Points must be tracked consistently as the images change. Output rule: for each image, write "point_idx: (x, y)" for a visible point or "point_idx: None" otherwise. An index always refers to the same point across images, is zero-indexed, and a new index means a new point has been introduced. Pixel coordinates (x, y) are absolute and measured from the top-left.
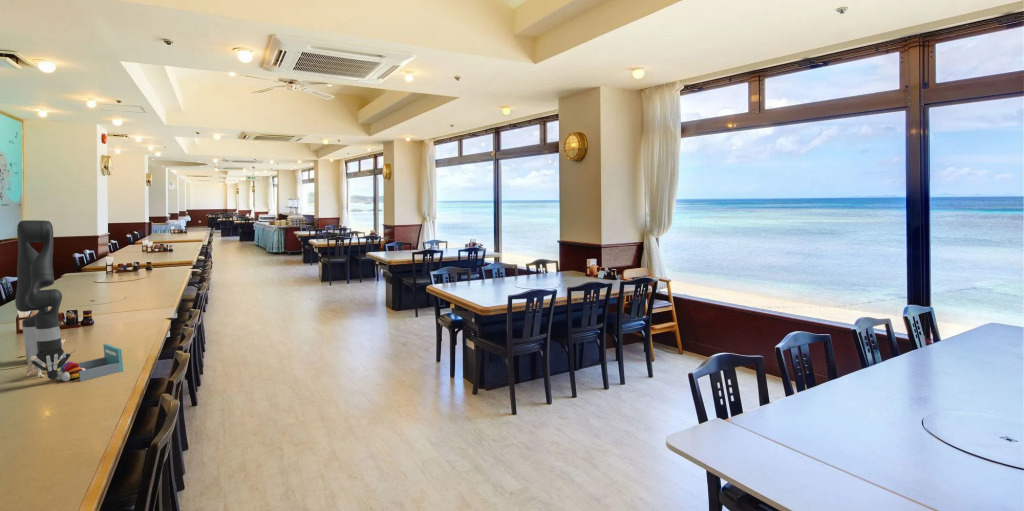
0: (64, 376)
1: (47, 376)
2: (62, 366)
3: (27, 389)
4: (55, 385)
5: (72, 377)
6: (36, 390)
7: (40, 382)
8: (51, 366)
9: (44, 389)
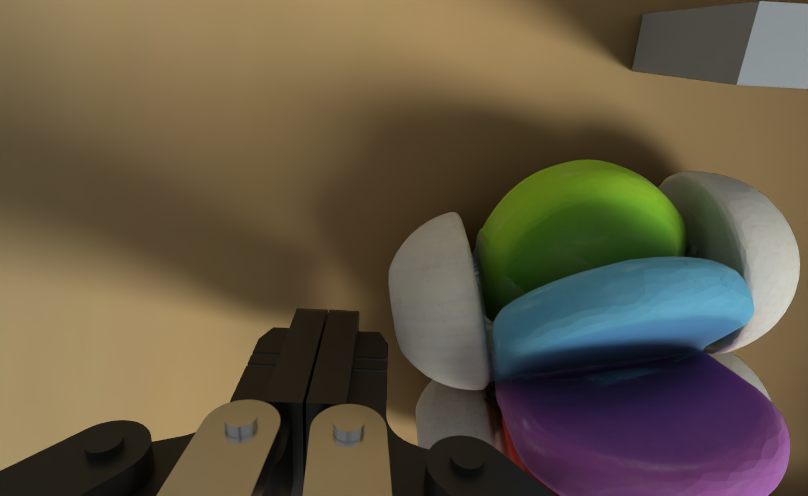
0: None
1: (255, 347)
2: (559, 343)
3: (35, 327)
4: None
5: None
6: None
7: (223, 122)
8: (307, 459)
9: None
